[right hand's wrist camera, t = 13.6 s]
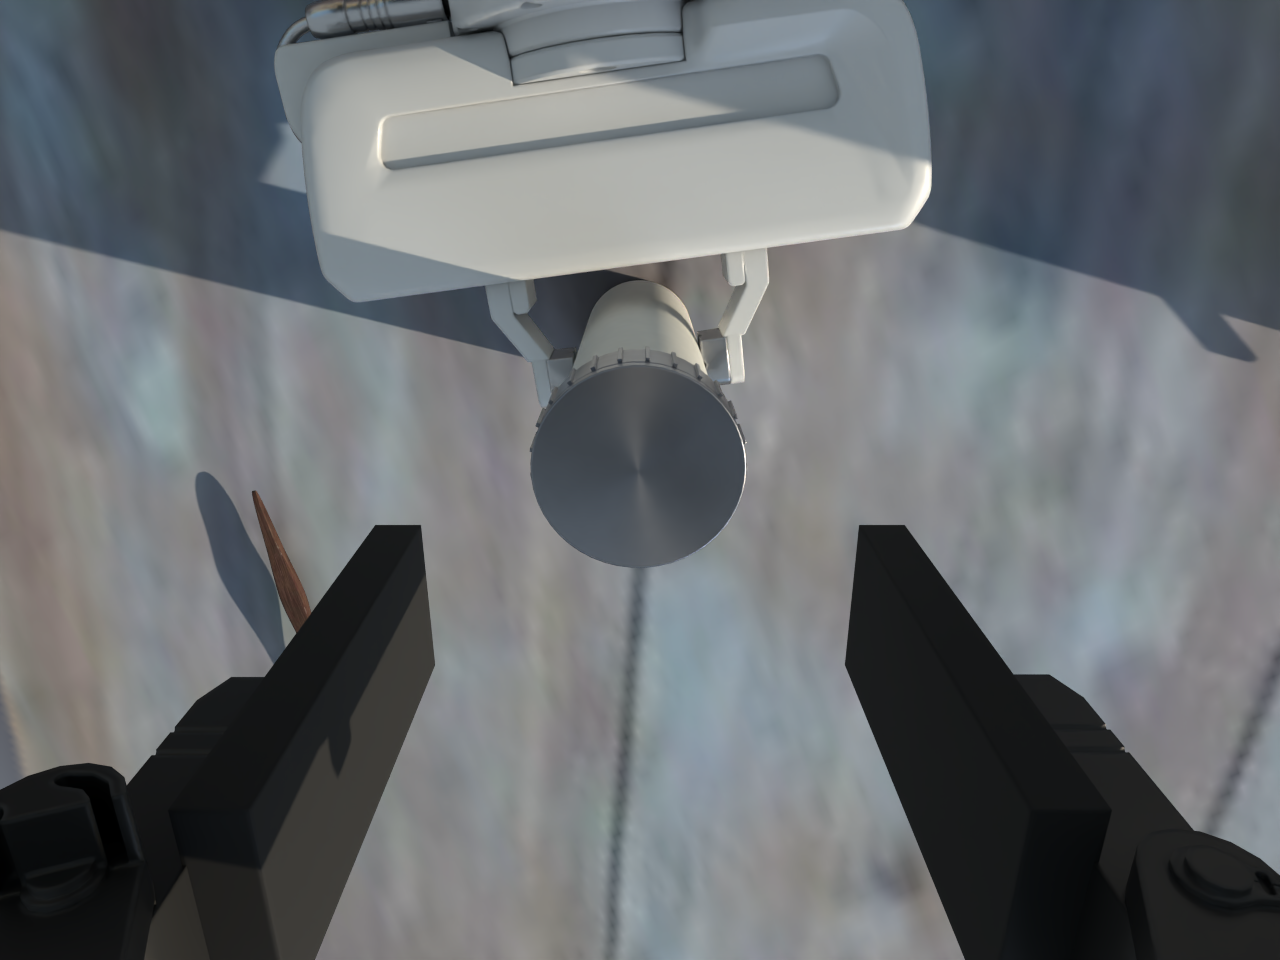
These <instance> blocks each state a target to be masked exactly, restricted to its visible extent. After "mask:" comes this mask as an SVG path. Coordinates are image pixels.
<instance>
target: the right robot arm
mask: <svg viewBox="0 0 1280 960" xmlns="http://www.w3.org/2000/svg"><path fill="white" fill-rule="evenodd" d="M434 666H435V660H434V650H433V640H432V630H431V620H430V611H429V601H428V591H427V581H426V571H425V562H424V552H423V542H422V532H421V525H375V526H374V528H373V529H372V531H371V532H370V533H369V535H368V536H367V537H366V539H365V540H364V541H363V543H362V544H361V546H360V547H359V548H358V550H357V551H356V552H355V554H354V555H353V557H352V558H351V559H350V561H349V562H348V563H347V565H346V566H345V568H344V569H343V570H342V572H341V573H340V574H339V576H338V577H337V579H336V580H335V581H334V583H333V584H332V585H331V587H330V588H329V590H328V591H327V592H326V594H325V595H324V596H323V598H322V599H321V600H320V602H319V603H318V605H317V606H316V607H315V609H314V610H313V611H312V613H311V614H310V616H309V617H308V618H307V620H306V621H305V622H304V624H303V625H302V627H301V628H300V629H299V631H298V632H297V633H296V635H295V636H294V638H293V639H292V640H291V642H290V643H289V644H288V646H287V647H286V649H285V650H284V651H283V653H282V654H281V655H280V657H279V658H278V660H277V661H276V662H275V664H274V665H273V666H272V668H271V669H270V670H269V672H268V673H267V675H266V676H265V677H231V678H229V679H228V680H226V681H225V682H223V683H222V684H220V685H219V686H217V687H216V688H214V689H213V690H211V691H210V692H208V693H207V694H206V695H204V696H203V697H201V698H200V699H198V700H197V701H196V702H195V703H194V704H193V706H192V707H191V708H190V709H189V711H188V712H187V713H186V714H185V715H184V717H183V718H182V719H181V720H180V721H179V723H178V724H177V725H176V726H175V731H174V732H170V734H169V735H168V736H167V737H166V738H165V740H164V741H163V742H162V743H161V745H160V746H159V747H158V748H157V749H156V755H151V757H150V758H149V759H148V760H147V762H146V763H145V764H144V765H143V766H142V768H141V769H140V770H139V771H138V773H137V774H136V775H135V776H134V777H133V779H132V780H131V781H130V782H129V783H128V785H126V782H125V778H124V777H123V776H122V775H121V774H120V773H118V772H117V771H116V770H115V769H113V768H112V767H110V766H104V765H98V764H92V763H84V764H75V765H66V766H59V767H56V768H52V769H49V770H46V771H43V772H39V773H36V774H33V775H30V776H27V777H25V778H23V779H21V780H19V781H17V782H15V783H13V784H11V785H9V786H7V787H5V788H3V789H1V790H0V960H315V958H316V956H317V953H318V951H319V948H320V946H321V943H322V941H323V939H324V936H325V934H326V931H327V929H328V926H329V924H330V921H331V919H332V916H333V914H334V912H335V909H336V907H337V904H338V902H339V899H340V897H341V894H342V892H343V889H344V887H345V885H346V882H347V880H348V877H349V875H350V872H351V870H352V867H353V865H354V862H355V860H356V858H357V855H358V853H359V850H360V848H361V845H362V843H363V840H364V838H365V835H366V833H367V831H368V828H369V826H370V823H371V821H372V818H373V816H374V813H375V811H376V809H377V806H378V804H379V801H380V799H381V796H382V794H383V791H384V789H385V786H386V784H387V782H388V779H389V777H390V774H391V772H392V769H393V767H394V764H395V762H396V759H397V757H398V755H399V752H400V750H401V747H402V745H403V742H404V740H405V737H406V735H407V732H408V730H409V728H410V725H411V723H412V720H413V718H414V715H415V713H416V710H417V708H418V705H419V703H420V701H421V698H422V696H423V693H424V691H425V688H426V686H427V683H428V681H429V678H430V676H431V674H432V671H433V669H434ZM845 666H846V669H847V671H848V674H849V676H850V678H851V681H852V683H853V686H854V688H855V691H856V693H857V696H858V698H859V701H860V703H861V705H862V708H863V710H864V713H865V715H866V718H867V720H868V723H869V725H870V728H871V730H872V732H873V735H874V737H875V740H876V742H877V745H878V747H879V750H880V752H881V755H882V757H883V759H884V762H885V764H886V767H887V769H888V772H889V774H890V777H891V779H892V782H893V784H894V786H895V789H896V791H897V794H898V796H899V799H900V801H901V804H902V806H903V809H904V811H905V813H906V816H907V818H908V821H909V823H910V826H911V828H912V831H913V833H914V835H915V838H916V840H917V843H918V845H919V848H920V850H921V853H922V855H923V858H924V860H925V862H926V865H927V867H928V870H929V872H930V875H931V877H932V880H933V882H934V885H935V887H936V889H937V892H938V894H939V897H940V899H941V902H942V904H943V907H944V909H945V912H946V914H947V916H948V919H949V921H950V924H951V926H952V929H953V931H954V934H955V936H956V939H957V941H958V943H959V946H960V948H961V951H962V953H963V956H964V958H965V960H1280V875H1279V874H1277V873H1276V872H1275V871H1274V870H1273V869H1272V868H1270V867H1269V866H1268V865H1267V864H1266V863H1265V862H1263V861H1262V860H1261V859H1260V858H1258V857H1256V856H1255V855H1253V854H1251V853H1249V852H1247V851H1246V850H1244V849H1242V848H1240V847H1239V846H1237V845H1235V844H1233V843H1231V842H1229V841H1226V840H1223V839H1220V838H1217V837H1214V836H1212V835H1209V834H1206V833H1203V832H1200V831H1194V830H1193V829H1192V828H1191V827H1190V825H1189V824H1188V823H1187V822H1186V821H1185V819H1184V818H1183V817H1182V816H1181V814H1180V813H1179V812H1178V811H1177V810H1176V808H1175V807H1174V806H1173V805H1172V804H1171V802H1170V801H1169V800H1168V799H1167V798H1166V796H1165V795H1164V794H1163V793H1162V792H1161V790H1160V789H1159V788H1158V787H1157V786H1156V784H1155V783H1154V782H1153V781H1152V779H1151V778H1150V777H1149V776H1148V775H1147V773H1146V772H1145V771H1144V770H1143V769H1142V767H1141V766H1140V765H1139V764H1138V763H1137V761H1136V760H1135V759H1134V758H1133V757H1132V755H1131V754H1130V753H1129V752H1125V750H1124V746H1123V744H1122V743H1121V742H1120V741H1119V740H1118V738H1117V737H1116V736H1115V735H1114V734H1113V732H1112V731H1111V730H1107V729H1106V724H1105V723H1104V722H1103V720H1102V719H1101V718H1100V717H1099V716H1098V714H1097V713H1096V712H1095V711H1094V709H1093V708H1092V707H1091V706H1090V705H1089V703H1088V702H1087V701H1086V700H1085V699H1084V697H1082V696H1081V695H1079V694H1078V693H1076V692H1075V691H1073V690H1072V689H1070V688H1069V687H1067V686H1066V685H1064V684H1063V683H1061V682H1060V681H1058V680H1057V679H1055V678H1054V677H1052V676H1051V675H1013V673H1012V672H1011V670H1010V669H1009V668H1008V666H1007V665H1006V664H1005V662H1004V661H1003V660H1002V658H1001V657H1000V655H999V654H998V653H997V651H996V650H995V649H994V647H993V646H992V644H991V643H990V642H989V640H988V639H987V638H986V636H985V635H984V633H983V632H982V631H981V629H980V628H979V627H978V625H977V624H976V622H975V621H974V620H973V618H972V617H971V616H970V614H969V613H968V611H967V610H966V609H965V607H964V606H963V605H962V603H961V602H960V601H959V599H958V598H957V596H956V595H955V594H954V592H953V591H952V590H951V588H950V587H949V585H948V584H947V583H946V581H945V580H944V579H943V577H942V576H941V574H940V573H939V572H938V570H937V569H936V568H935V566H934V565H933V563H932V562H931V561H930V559H929V558H928V557H927V555H926V554H925V552H924V551H923V550H922V548H921V547H920V546H919V544H918V543H917V541H916V540H915V539H914V537H913V536H912V535H911V533H910V532H909V531H908V529H907V528H906V526H905V525H859V532H858V542H857V552H856V562H855V571H854V581H853V591H852V601H851V611H850V620H849V630H848V640H847V650H846V660H845Z"/></svg>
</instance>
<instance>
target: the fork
mask: <svg viewBox="0 0 1280 960" xmlns="http://www.w3.org/2000/svg"><path fill="white" fill-rule="evenodd" d="M252 496H253V501H254V505H255V509H256V513H257V516H258V520H259V524H260V527H261V531H262V534H263V538H264V542H265V545H266V549H267V552H268V556H269V560H270V564H271V568H272V572H273V576H274V580H275V583H276V587H277V590H278V594H279V597H280V599H281V602H282V604H283V607H284V609H285V611H286V613H287V615H288V617H289V619H290V621H291V623H292V625H293V627H294V629H295V631H296V633H297V632H298V631H299V629H300V628H301V627H302V625H303V624H304V622H305V621H306V620H307V618H308V617H309V616H310V614H311V610H310V606H309V603H308V600H307V597H306V594H305V591H304V589H303V587H302V584H301V582H300V580H299V578H298V576H297V574H296V572H295V570H294V568H293V566H292V564H291V562H290V560H289V558H288V556H287V554H286V552H285V550H284V548H283V546H282V543H281V541H280V539H279V537H278V535H277V532H276V530H275V528H274V526H273V523H272V521H271V519H270V517H269V515H268V513H267V510H266V508H265V506H264V504H263V502H262V500H261V498H260V496H259V495H258V493H257V491H252Z"/></svg>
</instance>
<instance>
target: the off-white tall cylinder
mask: <svg viewBox="0 0 1280 960" xmlns="http://www.w3.org/2000/svg"><path fill="white" fill-rule="evenodd" d="M645 346H648V347H650V350H655V351H661V352H665V353H668V354H671V352H675V353H676V356H677V357H679V358H682V359H684V360H686V361H688V362H690V363H691V364H693V365H695V363H697V364H699V366H700V369H701V370H702V371H703V372H704V373H705V374H707V371H706V368H705V365H704V362H703V359H702V355H701V352H700V349H699V346H698V343H697V340H696V336H695V333H694V330H693V327H692V324H691V321H690V317H689V315H688V312H687V310H686V308H685V306H684V304H683V303H682V302H681V300H680V299H679V298H678V297H677V296H676V295H675V294H674V293H673V292H672V291H670V290H669V289H667V288H666V287H664V286H662V285H660V284H658V283H654V282H651V281H644V280H635V281H628V282H624V283H621V284H619V285H617V286H615V287H613V288H611V289H610V290H608V291H607V292H606V293H605V294H604V295H603V296H602V297H601V298H600V299H599V300H598V301H597V303H596V304H595V306H594V308H593V309H592V312H591V314H590V317H589V320H588V323H587V326H586V329H585V332H584V335H583V338H582V341H581V344H580V347H579V350H578V353H577V356H576V359H575V362H574V365H573V368H575V369H576V370H577V369H578V368H579V367H581V366H582V365H584V364H586V363H588V362H589V361H591V360H592V359H593V356H594V355H597V356H598V357H600V356H603V355H605V354H608V353H612V352H616V351H618V349H619V348H621V347H623V350H629V349H645ZM573 368H572V369H573ZM707 375H708V374H707Z"/></svg>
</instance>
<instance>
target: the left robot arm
mask: <svg viewBox="0 0 1280 960" xmlns="http://www.w3.org/2000/svg"><path fill="white" fill-rule="evenodd" d="M451 21H452V23H451ZM386 29H387V30H386ZM369 30H370V31H373V30H381V31H374V32H368V31H369ZM309 31H310V32H311V33H312V35H313V36H314V37H315V38H317V39H321V40H314V41H308V42H301V43H296V42H297V40H298V39H299V38H300V37H301V36H303V35H304V34H306V33H307V32H309ZM361 32H368V33H361ZM357 33H361V34H357ZM455 35H456V36H455ZM274 69H275V75H276V79H277V83H278V87H279V91H280V95H281V99H282V103H283V107H284V111H285V114H286V118H287V120H288V123H289V125H290V127H291V129H292V131H293V133H294V134H295V136H296V137H297V139H298V140H299V141H300V142H301V143H302V155H303V165H304V176H305V184H306V192H307V200H308V207H309V213H310V219H311V225H312V231H313V236H314V241H315V246H316V251H317V256H318V260H319V264H320V268H321V271H322V274H323V275H324V277H325V279H326V280H327V281H328V282H329V283H330V284H331V285H333V286H334V287H335V288H336V289H337V290H338V291H339V292H340V293H342V294H343V295H344V296H345V297H346V298H348V299H349V300H350V301H353V302H365V301H373V300H381V299H388V298H395V297H403V296H410V295H418V294H425V293H433V292H440V291H448V290H455V289H463V288H470V287H477V286H485V289H486V294H487V299H488V304H489V310H490V315H491V319H492V320H493V321H494V323H495V324H496V325H497V326H498V327H499V328H500V330H501V331H502V332H503V333H504V334H505V336H506V337H507V338H508V339H509V340H510V341H511V343H512V344H513V345H514V346H515V347H516V348H517V350H518V351H519V352H520V353H521V354H522V356H523V357H524V358H525V359H526V360H527V361H528V362H532V366H533V372H534V377H535V383H536V388H537V394H538V399H539V403H540V406H541V407H547V405H548V402H549V399H550V396H551V394H552V391H553V389H554V387H555V386H556V387H559V386H560V385H561V384H562V382H563V381H564V380H565V379H566V378H567V377H568V376H569V374H570V371H571V370H572V368H573V365H574V362H575V359H576V356H577V351H576V347H573V348H563V349H554V347H553V346H552V345H551V343H550V342H549V341H548V340H547V338H546V337H545V336H544V334H543V333H542V332H541V331H540V329H539V328H538V327H537V325H536V324H535V323H534V322H533V320H532V319H531V318H530V316H529V315H528V314H527V313H528V312H529V311H530V309H531V308H532V307H533V305H534V304H535V302H536V301H537V298H536V291H535V285H534V279H537V278H545V277H552V276H559V275H567V274H574V273H582V272H589V271H597V270H604V269H612V268H619V267H626V266H634V265H641V264H649V263H656V262H664V261H671V260H679V259H686V258H694V257H701V256H708V255H716V254H721V262H722V271H723V276H724V278H725V279H726V281H727V282H728V283H729V284H730V285H731V286H736V287H735V289H734V291H733V294H732V296H731V298H730V301H729V303H728V305H727V308H726V310H725V312H724V314H723V317H722V319H721V321H720V324H719V326H718V327H719V328H716V329H710V330H703V331H697V339H698V346H699V349H700V352H701V355H702V359H703V362H704V365H705V368H706V371H707V374H708V376H709V377H710V378H711V379H712V380H713V381H715V380H717V381H718V382H719V385H725V384H730V383H731V384H733V383H741V382H744V363H743V351H742V340H741V335H743V334H745V332H746V330H747V328H748V326H749V324H750V322H751V320H752V318H753V315H754V313H755V311H756V309H757V307H758V305H759V303H760V301H761V299H762V297H763V294H764V292H765V290H766V288H767V286H768V284H769V272H768V258H767V248H768V247H775V246H783V245H790V244H798V243H805V242H813V241H820V240H828V239H835V238H843V237H850V236H857V235H865V234H872V233H880V232H887V231H894V230H901V229H904V228H907V227H908V226H909V225H910V224H911V223H912V221H913V220H914V219H915V217H916V216H917V214H918V213H919V212H920V210H921V208H922V207H923V205H924V204H925V202H926V200H927V199H928V197H929V194H930V191H931V182H932V160H931V138H930V124H929V112H928V103H927V94H926V85H925V77H924V71H923V64H922V58H921V51H920V46H919V41H918V36H917V32H916V28H915V25H914V22H913V19H912V17H911V14H910V12H909V10H908V8H907V6H906V5H905V3H904V1H903V0H319V1H316V2H313V3H311V4H309V5H307V6H306V8H305V17H303V18H301V19H299V20H298V21H296V22H294V23H293V24H292V25H291V26H290V27H289V28H288V29H287V30H286V31H285V33H284V34H283V36H282V38H281V40H280V41H279V44H278V47H277V50H276V52H275V57H274Z"/></svg>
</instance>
